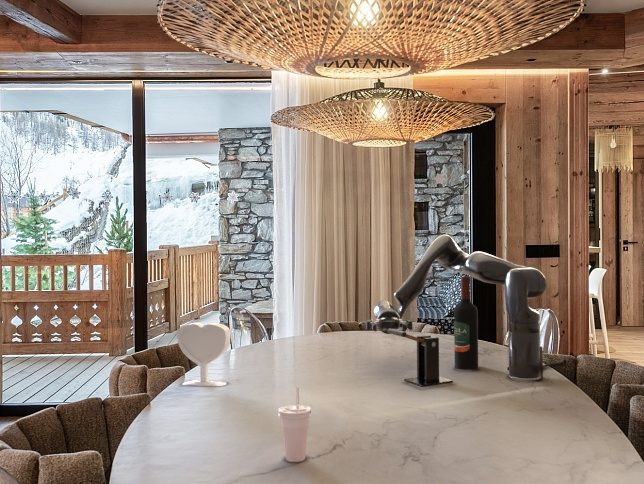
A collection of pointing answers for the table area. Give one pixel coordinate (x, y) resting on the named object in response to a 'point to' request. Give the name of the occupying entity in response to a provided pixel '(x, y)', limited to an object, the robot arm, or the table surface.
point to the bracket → (428, 364)
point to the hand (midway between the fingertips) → (389, 327)
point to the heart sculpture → (203, 347)
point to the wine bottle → (466, 330)
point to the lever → (406, 336)
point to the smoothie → (295, 429)
